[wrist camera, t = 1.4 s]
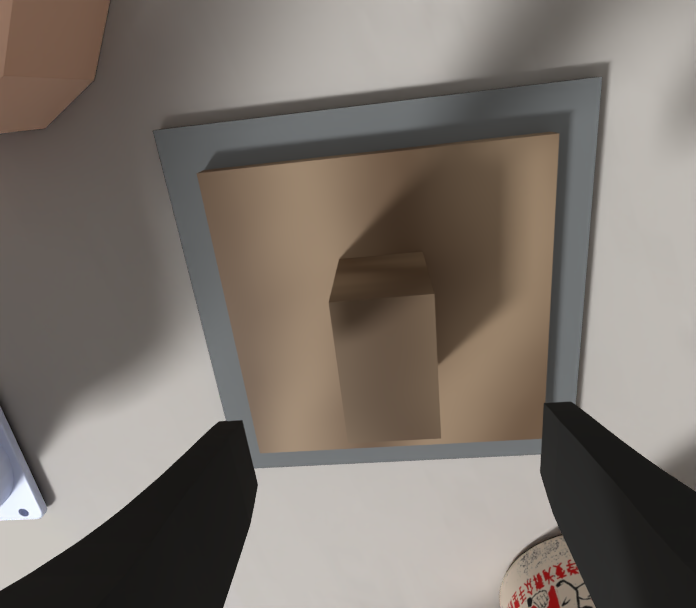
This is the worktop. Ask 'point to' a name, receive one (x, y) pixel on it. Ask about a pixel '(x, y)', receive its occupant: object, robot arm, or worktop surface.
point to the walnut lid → (390, 292)
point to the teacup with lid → (545, 579)
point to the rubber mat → (384, 134)
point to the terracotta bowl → (46, 57)
